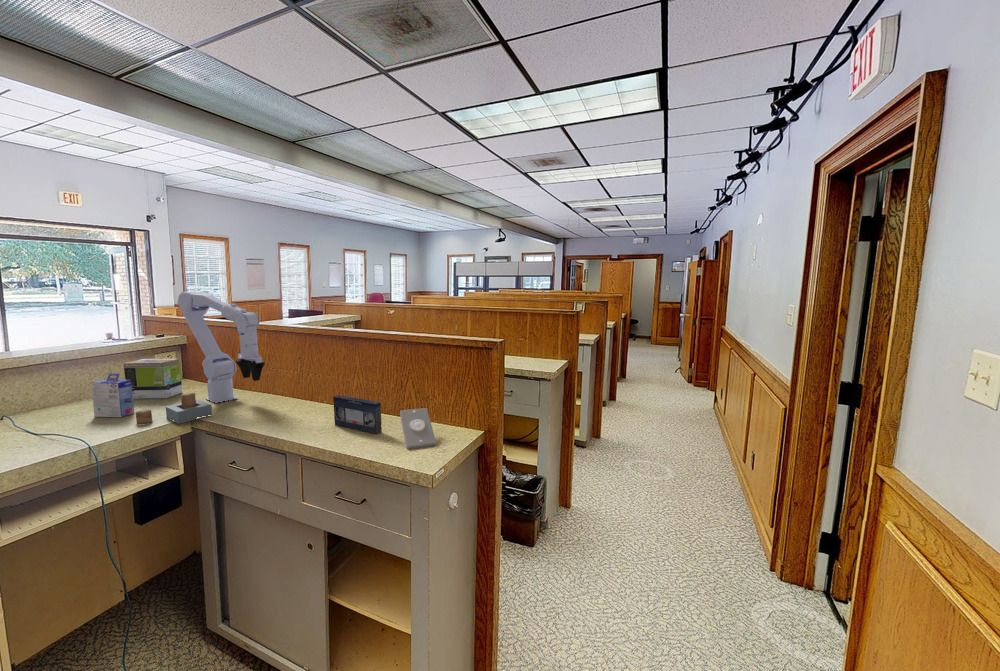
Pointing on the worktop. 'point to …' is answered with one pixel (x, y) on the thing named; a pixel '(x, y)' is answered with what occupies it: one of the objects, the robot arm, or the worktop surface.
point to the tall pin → (188, 400)
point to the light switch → (417, 428)
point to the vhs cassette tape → (357, 414)
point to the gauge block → (188, 412)
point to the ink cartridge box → (112, 397)
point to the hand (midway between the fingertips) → (251, 379)
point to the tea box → (154, 377)
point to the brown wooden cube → (144, 416)
